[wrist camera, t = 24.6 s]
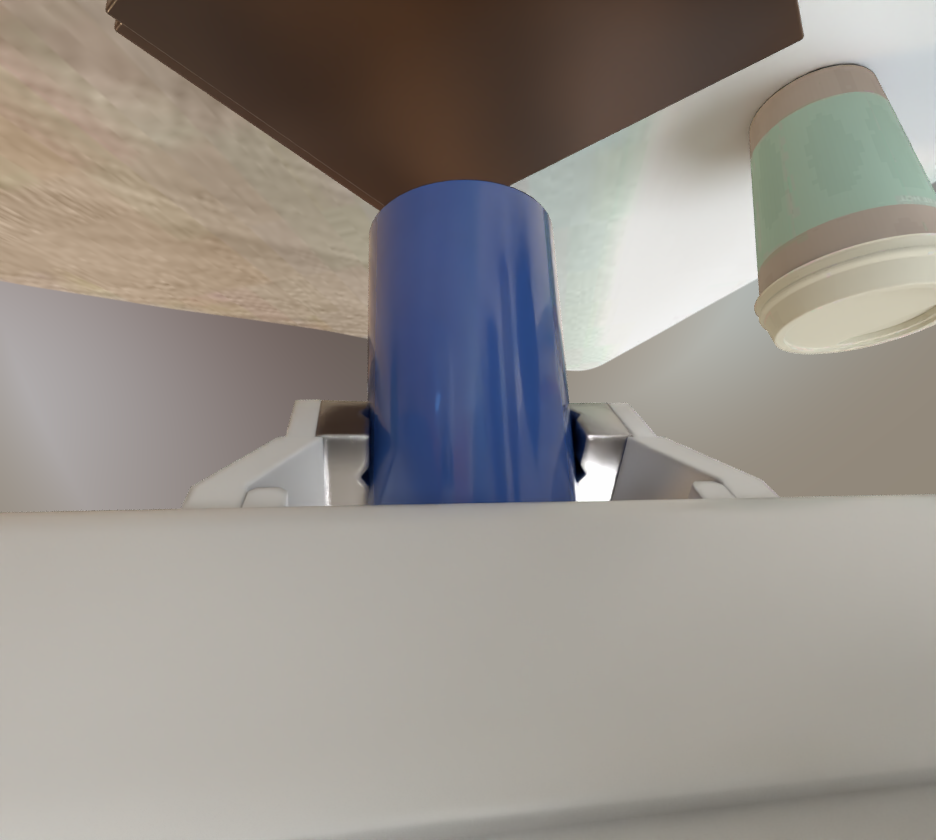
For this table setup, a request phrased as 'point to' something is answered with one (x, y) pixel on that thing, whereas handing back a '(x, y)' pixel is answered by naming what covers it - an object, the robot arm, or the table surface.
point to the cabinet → (457, 73)
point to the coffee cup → (840, 217)
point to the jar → (466, 350)
